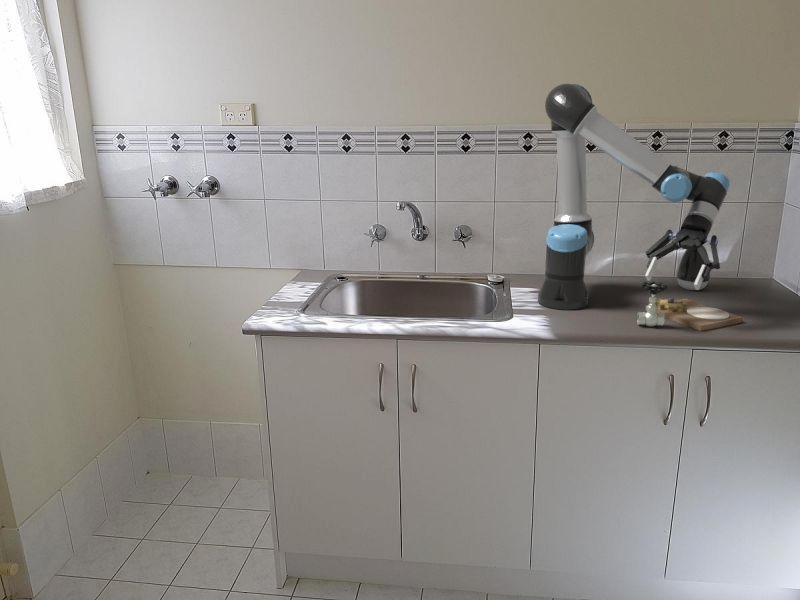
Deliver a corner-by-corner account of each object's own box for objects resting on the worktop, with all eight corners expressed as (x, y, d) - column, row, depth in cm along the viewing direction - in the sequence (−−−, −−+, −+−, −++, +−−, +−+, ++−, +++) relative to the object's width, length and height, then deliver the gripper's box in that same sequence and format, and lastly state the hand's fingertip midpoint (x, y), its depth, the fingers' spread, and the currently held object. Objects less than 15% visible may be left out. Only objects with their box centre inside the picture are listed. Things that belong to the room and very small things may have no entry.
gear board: (645, 310, 190) (646, 296, 189) (684, 303, 196) (686, 290, 195) (700, 331, 172) (702, 316, 171) (741, 322, 179) (744, 308, 177)
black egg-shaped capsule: (708, 285, 214) (714, 241, 209) (708, 294, 205) (714, 247, 200) (675, 282, 218) (681, 238, 214) (674, 290, 209) (679, 245, 205)
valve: (664, 330, 173) (669, 288, 170) (639, 329, 174) (643, 287, 171) (660, 322, 179) (665, 281, 176) (635, 321, 181) (639, 280, 177)
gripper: (747, 234, 177) (720, 298, 171) (659, 223, 194) (632, 281, 188) (743, 218, 172) (715, 283, 166) (653, 208, 189) (625, 267, 183)
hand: (671, 282), depth 177 cm, fingers open, 13 cm apart
